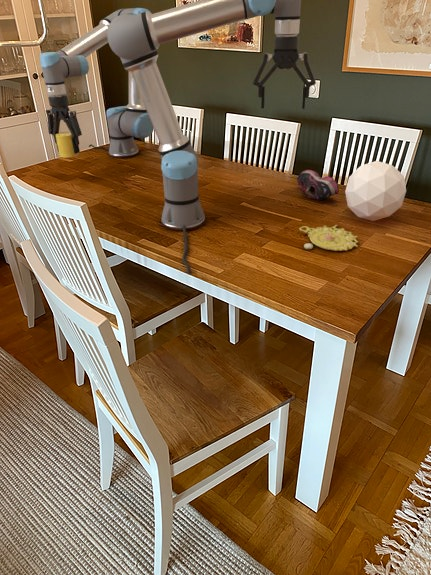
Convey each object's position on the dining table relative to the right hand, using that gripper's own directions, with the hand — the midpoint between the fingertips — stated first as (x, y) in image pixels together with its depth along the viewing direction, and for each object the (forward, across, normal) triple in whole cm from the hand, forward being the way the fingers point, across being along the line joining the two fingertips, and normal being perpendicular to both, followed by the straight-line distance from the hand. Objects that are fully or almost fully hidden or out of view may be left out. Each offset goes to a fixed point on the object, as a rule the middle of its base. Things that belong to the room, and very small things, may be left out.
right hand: (282, 107), depth 149 cm
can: (+23, +92, -19) cm, 97 cm away
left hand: (+22, +92, -19) cm, 96 cm away
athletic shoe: (+34, -13, -10) cm, 38 cm away
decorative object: (+34, -18, +28) cm, 48 cm away
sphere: (+34, -33, +9) cm, 48 cm away
